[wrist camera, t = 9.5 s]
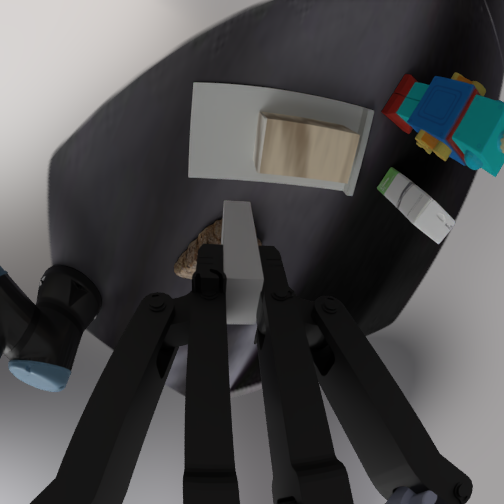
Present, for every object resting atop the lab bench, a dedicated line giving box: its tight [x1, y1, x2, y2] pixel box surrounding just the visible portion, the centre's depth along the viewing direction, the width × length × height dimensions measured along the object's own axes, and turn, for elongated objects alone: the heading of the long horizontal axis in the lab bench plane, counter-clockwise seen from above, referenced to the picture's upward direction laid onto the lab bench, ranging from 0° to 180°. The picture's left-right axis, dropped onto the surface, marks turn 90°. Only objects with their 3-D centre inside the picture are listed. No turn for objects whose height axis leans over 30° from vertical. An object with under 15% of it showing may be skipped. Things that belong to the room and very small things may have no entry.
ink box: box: [377, 167, 455, 244], centre depth 39 cm, size 9×5×12 cm, turn 62°
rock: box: [174, 218, 262, 279], centre depth 46 cm, size 15×10×6 cm
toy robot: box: [381, 73, 504, 177], centre depth 24 cm, size 12×6×25 cm, turn 152°
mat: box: [188, 82, 374, 196], centre depth 36 cm, size 25×14×2 cm, turn 83°
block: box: [253, 111, 360, 184], centre depth 35 cm, size 6×7×12 cm
